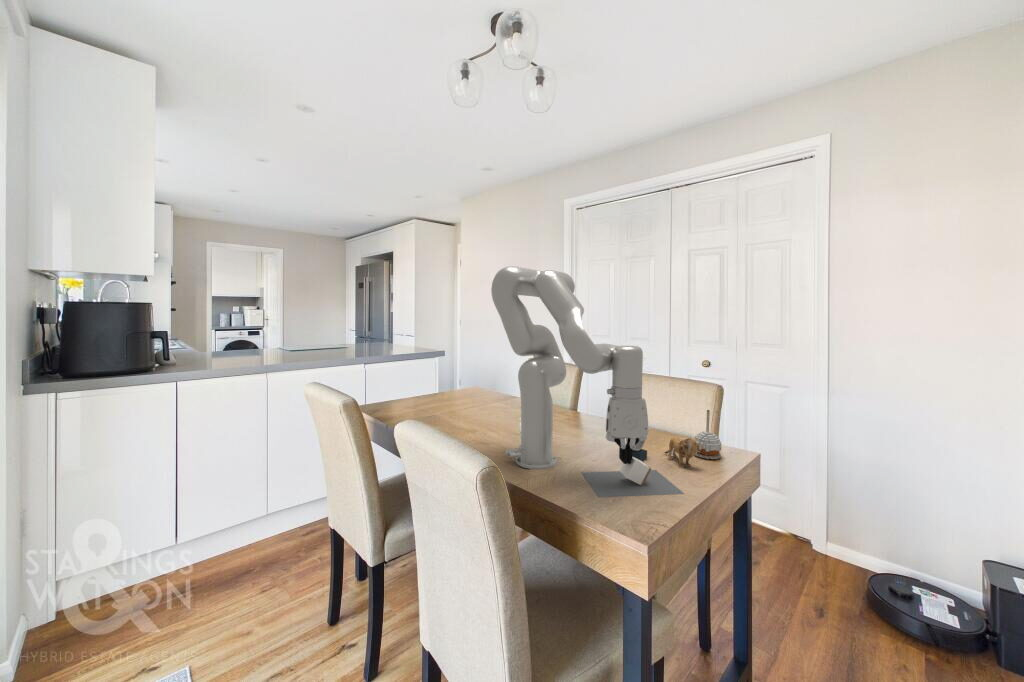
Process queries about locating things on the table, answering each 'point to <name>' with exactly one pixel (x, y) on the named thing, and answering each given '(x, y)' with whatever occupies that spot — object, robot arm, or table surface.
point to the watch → (639, 451)
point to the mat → (629, 484)
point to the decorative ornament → (708, 443)
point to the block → (635, 471)
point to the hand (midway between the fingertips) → (625, 462)
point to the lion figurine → (683, 449)
